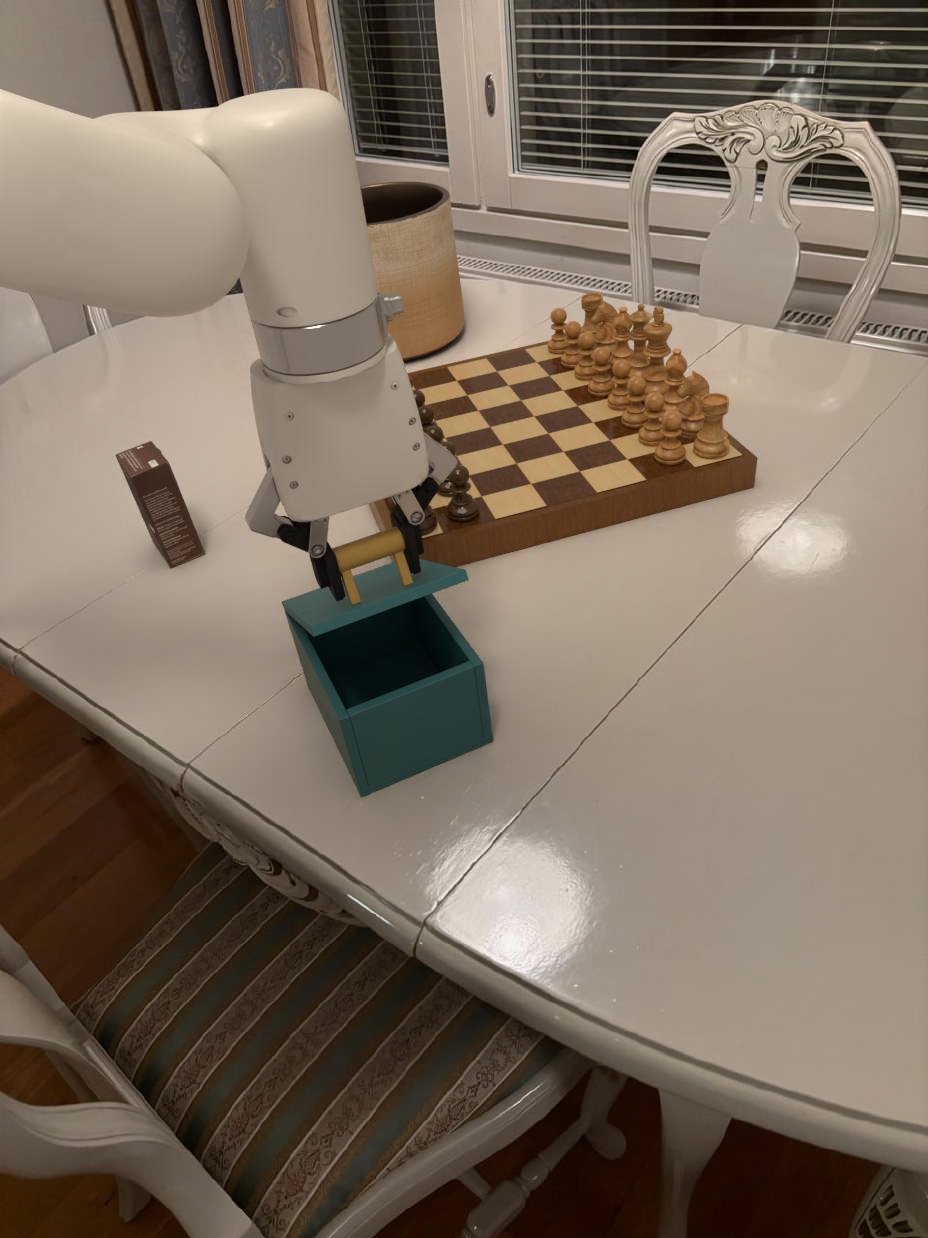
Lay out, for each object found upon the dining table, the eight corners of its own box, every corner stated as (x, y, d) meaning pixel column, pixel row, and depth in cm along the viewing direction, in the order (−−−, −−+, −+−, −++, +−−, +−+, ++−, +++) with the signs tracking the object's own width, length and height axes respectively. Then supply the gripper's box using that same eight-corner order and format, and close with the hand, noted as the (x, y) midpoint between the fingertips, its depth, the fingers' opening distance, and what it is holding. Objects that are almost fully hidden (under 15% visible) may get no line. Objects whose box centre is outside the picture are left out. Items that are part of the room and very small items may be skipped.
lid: (469, 580, 62) (448, 512, 61) (313, 637, 59) (288, 567, 58) (411, 564, 77) (394, 509, 76) (284, 610, 74) (264, 553, 73)
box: (151, 546, 100) (113, 453, 92) (189, 531, 102) (154, 438, 94) (167, 571, 96) (129, 475, 88) (206, 555, 97) (172, 459, 90)
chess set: (604, 352, 126) (604, 246, 117) (754, 487, 96) (769, 358, 87) (332, 416, 120) (308, 309, 111) (400, 581, 90) (376, 453, 81)
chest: (493, 741, 72) (483, 662, 66) (361, 797, 69) (339, 720, 63) (424, 640, 83) (411, 564, 77) (307, 685, 80) (284, 610, 74)
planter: (350, 312, 149) (325, 184, 136) (477, 308, 144) (464, 175, 131) (307, 369, 133) (274, 230, 120) (449, 367, 128) (431, 222, 115)
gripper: (428, 281, 57) (458, 516, 69) (167, 349, 53) (246, 588, 64) (477, 317, 52) (501, 565, 63) (190, 396, 47) (272, 647, 59)
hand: (372, 574), depth 64 cm, fingers closed on lid, 5 cm apart
